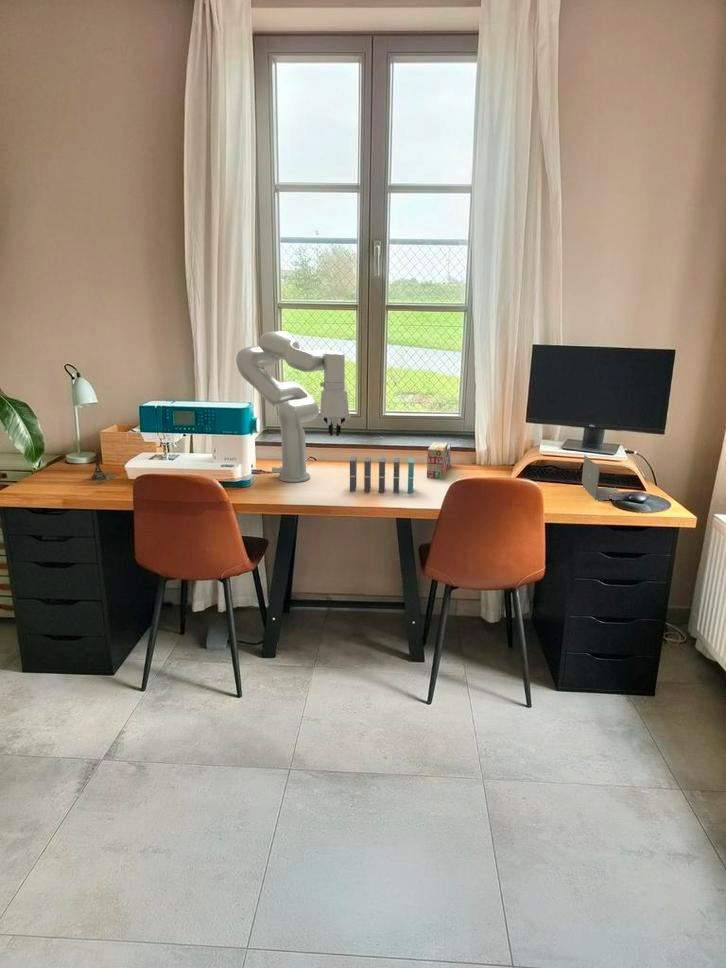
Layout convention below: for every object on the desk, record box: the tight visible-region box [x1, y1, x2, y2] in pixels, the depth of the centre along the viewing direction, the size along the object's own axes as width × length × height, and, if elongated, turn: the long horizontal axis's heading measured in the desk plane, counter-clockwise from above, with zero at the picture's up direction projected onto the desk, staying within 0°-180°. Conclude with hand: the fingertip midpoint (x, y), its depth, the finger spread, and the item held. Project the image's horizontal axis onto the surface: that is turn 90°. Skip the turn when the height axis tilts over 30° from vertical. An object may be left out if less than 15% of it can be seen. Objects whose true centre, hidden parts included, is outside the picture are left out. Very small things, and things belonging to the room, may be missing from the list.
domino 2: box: [363, 456, 372, 493], centre depth 252 cm, size 2×6×12 cm, turn 175°
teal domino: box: [407, 457, 415, 494], centre depth 251 cm, size 2×6×12 cm, turn 175°
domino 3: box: [378, 457, 386, 493], centre depth 252 cm, size 2×6×12 cm, turn 175°
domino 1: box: [349, 456, 358, 493], centre depth 252 cm, size 2×6×12 cm, turn 175°
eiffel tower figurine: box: [90, 447, 118, 485], centre depth 263 cm, size 15×10×13 cm
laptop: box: [581, 455, 622, 502], centre depth 249 cm, size 18×12×13 cm
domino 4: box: [392, 457, 401, 494], centre depth 251 cm, size 2×6×12 cm, turn 175°
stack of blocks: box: [426, 441, 452, 480], centre depth 277 cm, size 21×6×12 cm, turn 164°
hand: (334, 434), depth 248 cm, fingers closed
